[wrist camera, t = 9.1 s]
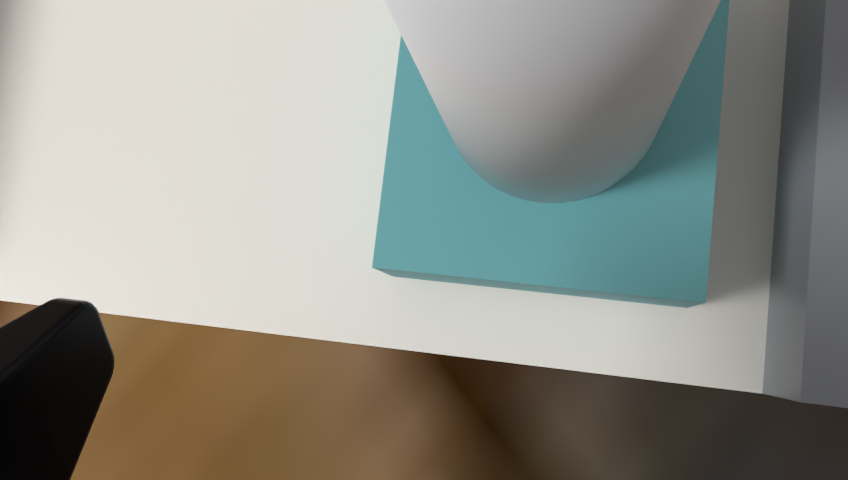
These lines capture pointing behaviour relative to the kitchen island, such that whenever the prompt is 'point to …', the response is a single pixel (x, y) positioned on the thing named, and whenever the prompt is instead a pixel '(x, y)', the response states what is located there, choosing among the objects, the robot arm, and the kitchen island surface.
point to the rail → (362, 185)
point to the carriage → (555, 146)
